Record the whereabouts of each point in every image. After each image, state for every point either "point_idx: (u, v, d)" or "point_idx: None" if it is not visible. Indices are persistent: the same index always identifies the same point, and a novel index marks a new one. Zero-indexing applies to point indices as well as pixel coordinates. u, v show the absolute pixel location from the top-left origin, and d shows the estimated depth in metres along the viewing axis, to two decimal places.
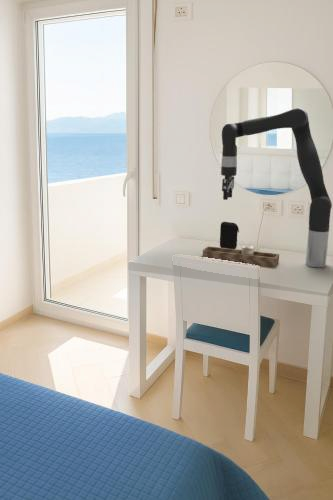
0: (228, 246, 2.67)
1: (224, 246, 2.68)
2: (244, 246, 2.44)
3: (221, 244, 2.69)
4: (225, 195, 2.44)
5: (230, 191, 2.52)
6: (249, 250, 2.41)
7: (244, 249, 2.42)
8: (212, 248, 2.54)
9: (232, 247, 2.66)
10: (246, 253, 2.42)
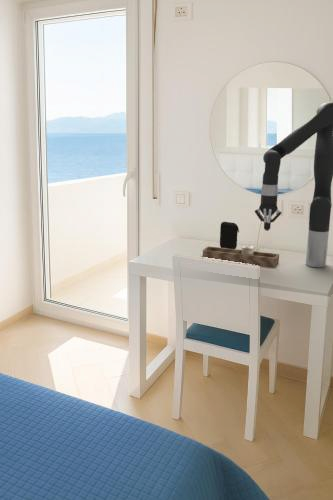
0: (228, 246, 2.67)
1: (224, 246, 2.68)
2: (244, 246, 2.44)
3: (221, 244, 2.69)
4: (270, 225, 2.37)
5: None
6: (249, 250, 2.41)
7: (244, 249, 2.42)
8: (212, 248, 2.54)
9: (232, 247, 2.66)
10: (246, 253, 2.42)
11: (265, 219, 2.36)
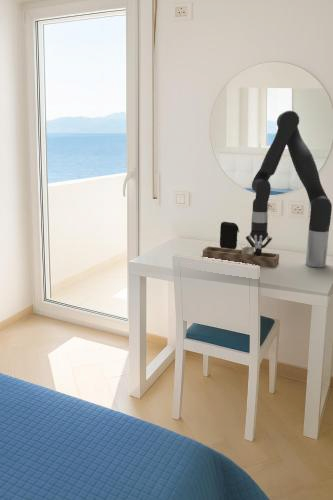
0: (228, 246, 2.67)
1: (224, 246, 2.68)
2: (244, 246, 2.44)
3: (221, 244, 2.69)
4: (261, 251, 2.42)
5: None
6: (249, 250, 2.41)
7: (244, 249, 2.42)
8: (212, 248, 2.54)
9: (232, 247, 2.66)
10: (246, 253, 2.42)
11: (256, 245, 2.41)
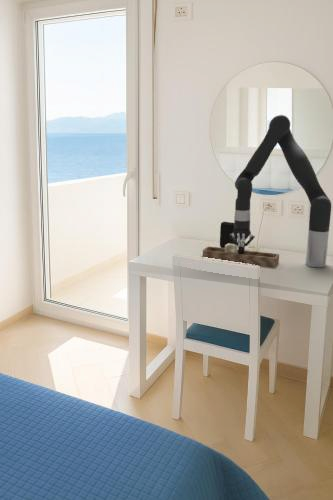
0: None
1: (224, 246, 2.68)
2: (228, 244, 2.48)
3: (221, 244, 2.69)
4: (244, 249, 2.45)
5: None
6: (232, 248, 2.44)
7: (227, 247, 2.45)
8: (212, 248, 2.54)
9: None
10: (229, 251, 2.45)
11: (239, 243, 2.43)
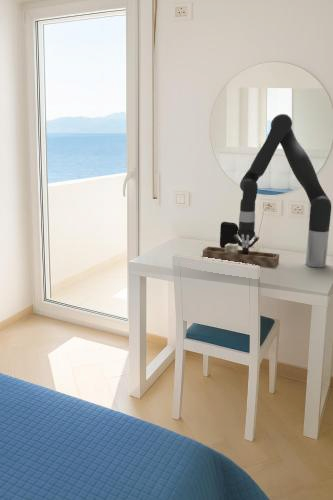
0: None
1: (224, 246, 2.68)
2: (228, 244, 2.48)
3: (221, 244, 2.69)
4: (248, 250, 2.44)
5: None
6: (232, 248, 2.44)
7: (227, 247, 2.45)
8: (212, 248, 2.54)
9: None
10: (229, 251, 2.45)
11: (243, 244, 2.43)
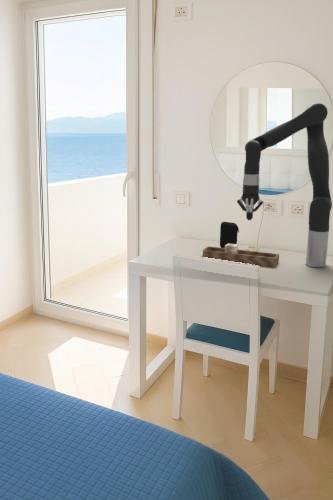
0: None
1: (224, 246, 2.68)
2: (228, 244, 2.48)
3: (221, 244, 2.69)
4: (252, 215, 2.40)
5: None
6: (232, 248, 2.44)
7: (227, 247, 2.45)
8: (212, 248, 2.54)
9: None
10: (229, 251, 2.45)
11: (247, 209, 2.38)
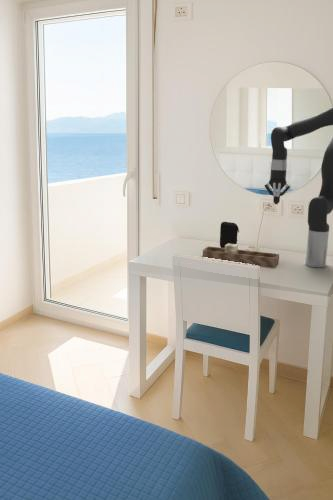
0: None
1: (224, 246, 2.68)
2: (228, 244, 2.48)
3: (221, 244, 2.69)
4: (279, 199, 2.49)
5: None
6: (232, 248, 2.44)
7: (227, 247, 2.45)
8: (212, 248, 2.54)
9: None
10: (229, 251, 2.45)
11: (274, 193, 2.48)
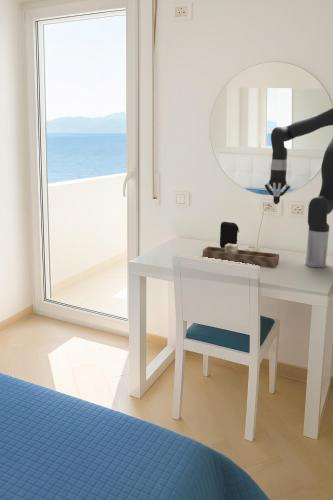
0: None
1: (224, 246, 2.68)
2: (228, 244, 2.48)
3: (221, 244, 2.69)
4: (279, 199, 2.49)
5: None
6: (232, 248, 2.44)
7: (227, 247, 2.45)
8: (212, 248, 2.54)
9: None
10: (229, 251, 2.45)
11: (274, 193, 2.48)
